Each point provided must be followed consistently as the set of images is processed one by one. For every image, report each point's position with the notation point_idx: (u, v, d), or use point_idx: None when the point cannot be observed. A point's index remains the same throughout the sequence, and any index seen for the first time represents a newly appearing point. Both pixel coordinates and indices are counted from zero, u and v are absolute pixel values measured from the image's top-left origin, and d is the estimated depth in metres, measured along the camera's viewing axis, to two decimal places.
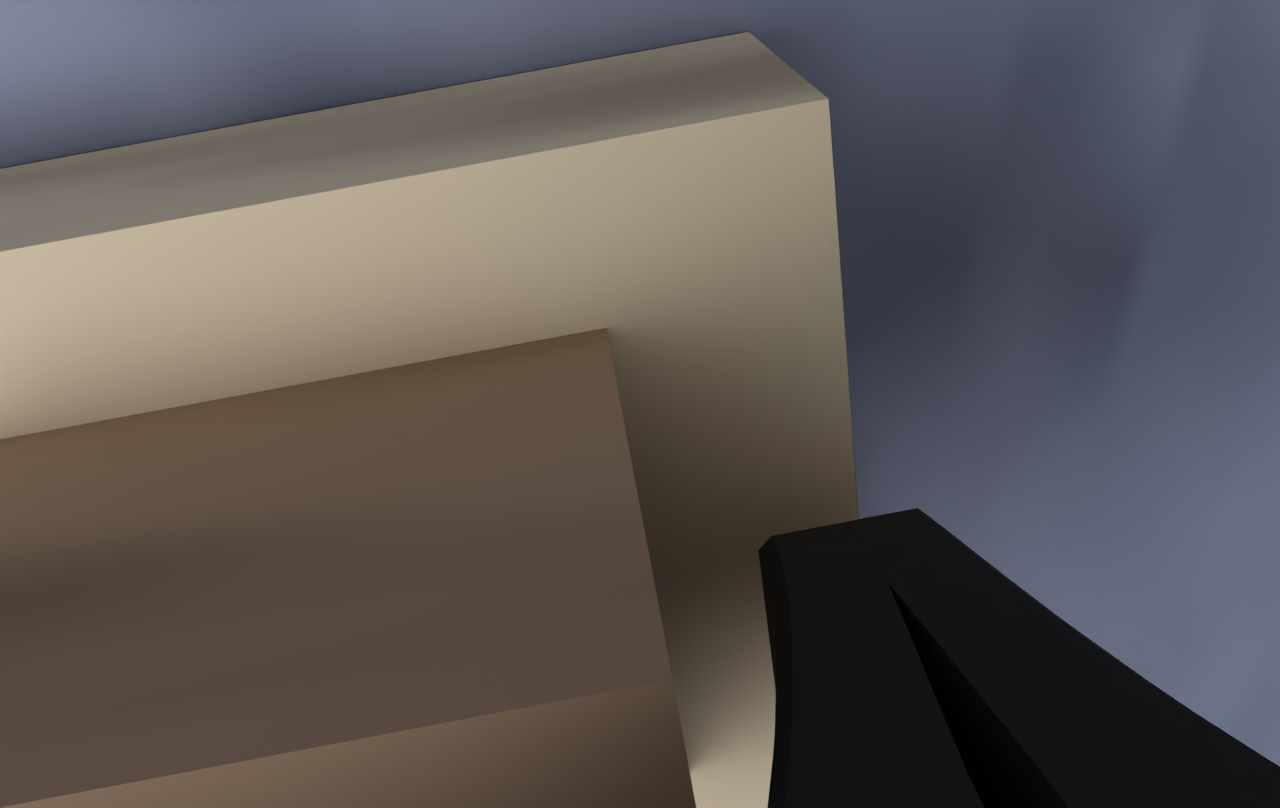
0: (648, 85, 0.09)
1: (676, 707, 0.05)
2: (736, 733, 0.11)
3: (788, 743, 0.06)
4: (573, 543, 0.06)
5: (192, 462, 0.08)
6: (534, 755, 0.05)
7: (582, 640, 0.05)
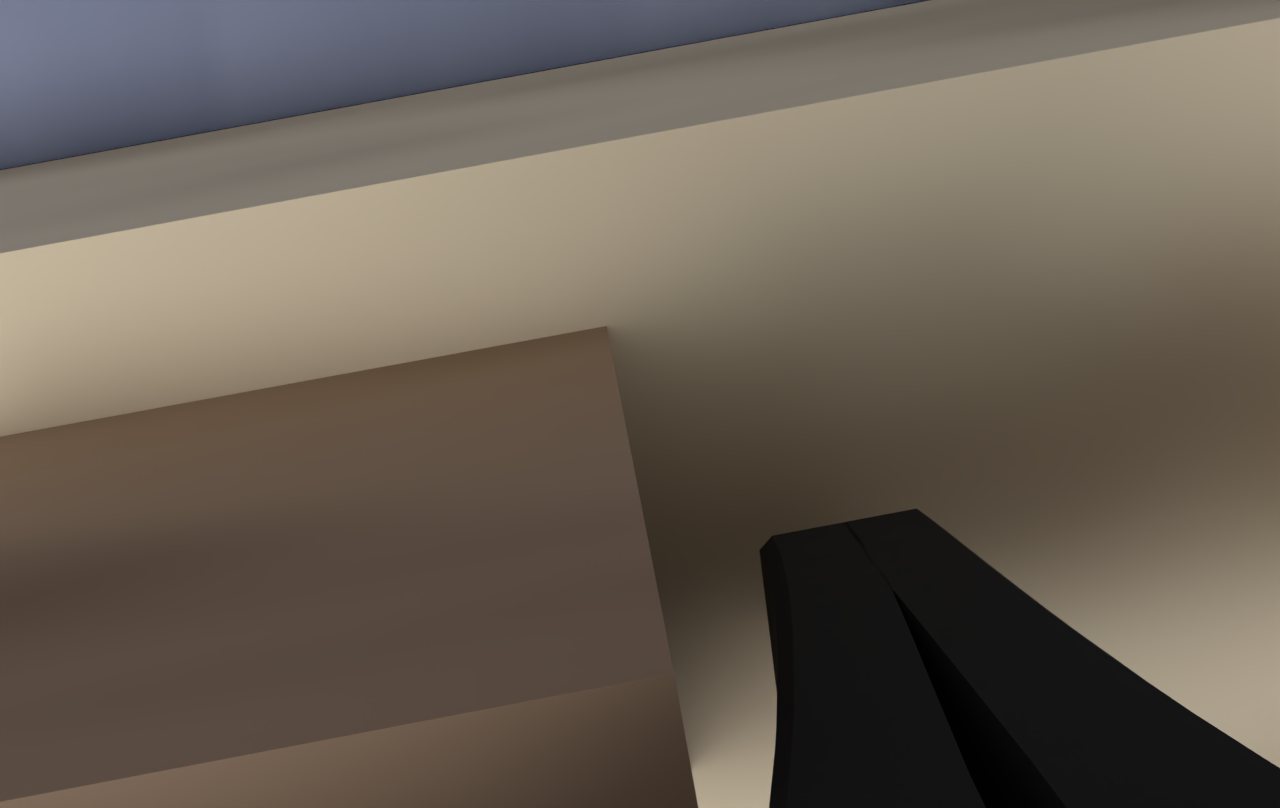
0: None
1: (677, 700, 0.05)
2: None
3: (790, 742, 0.06)
4: (573, 539, 0.06)
5: (191, 460, 0.08)
6: (534, 747, 0.05)
7: (583, 635, 0.05)
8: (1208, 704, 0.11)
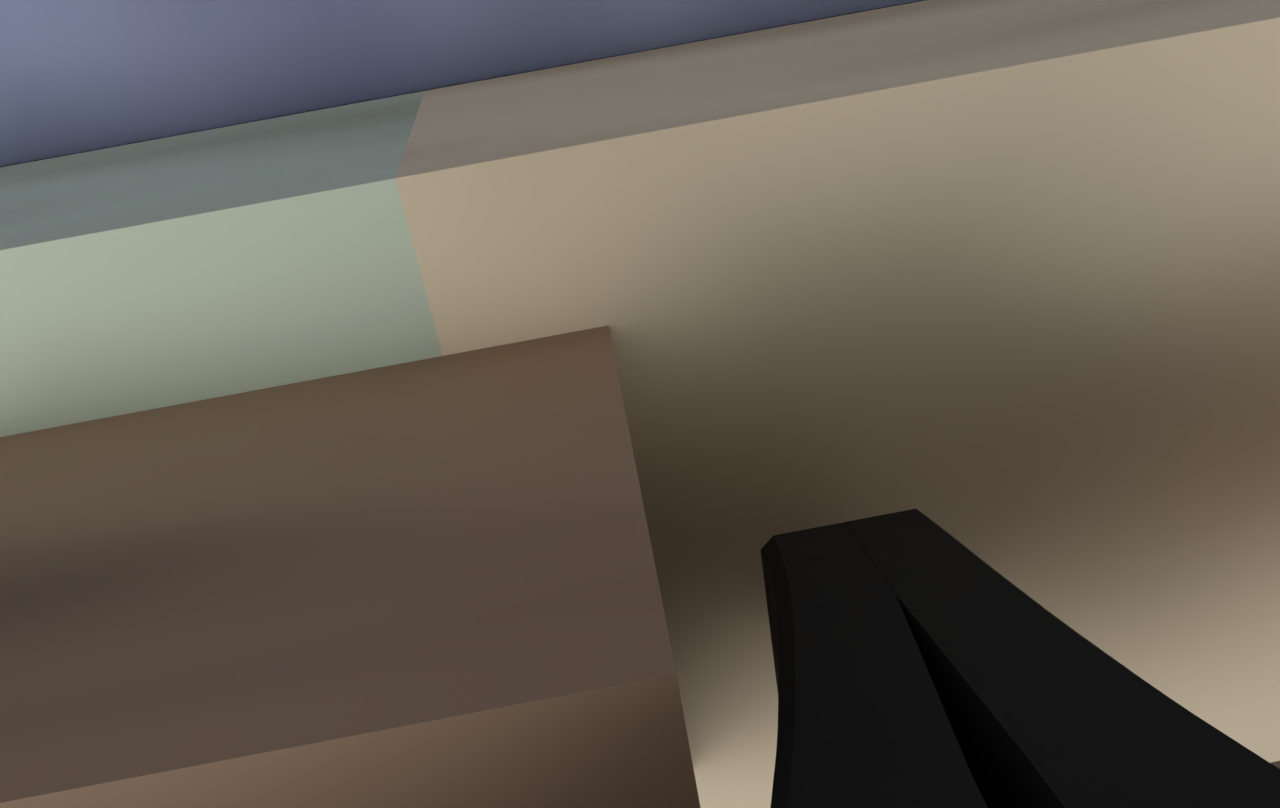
0: None
1: (679, 702, 0.05)
2: None
3: (791, 742, 0.06)
4: (577, 540, 0.06)
5: (195, 459, 0.08)
6: (536, 749, 0.05)
7: (587, 637, 0.05)
8: None
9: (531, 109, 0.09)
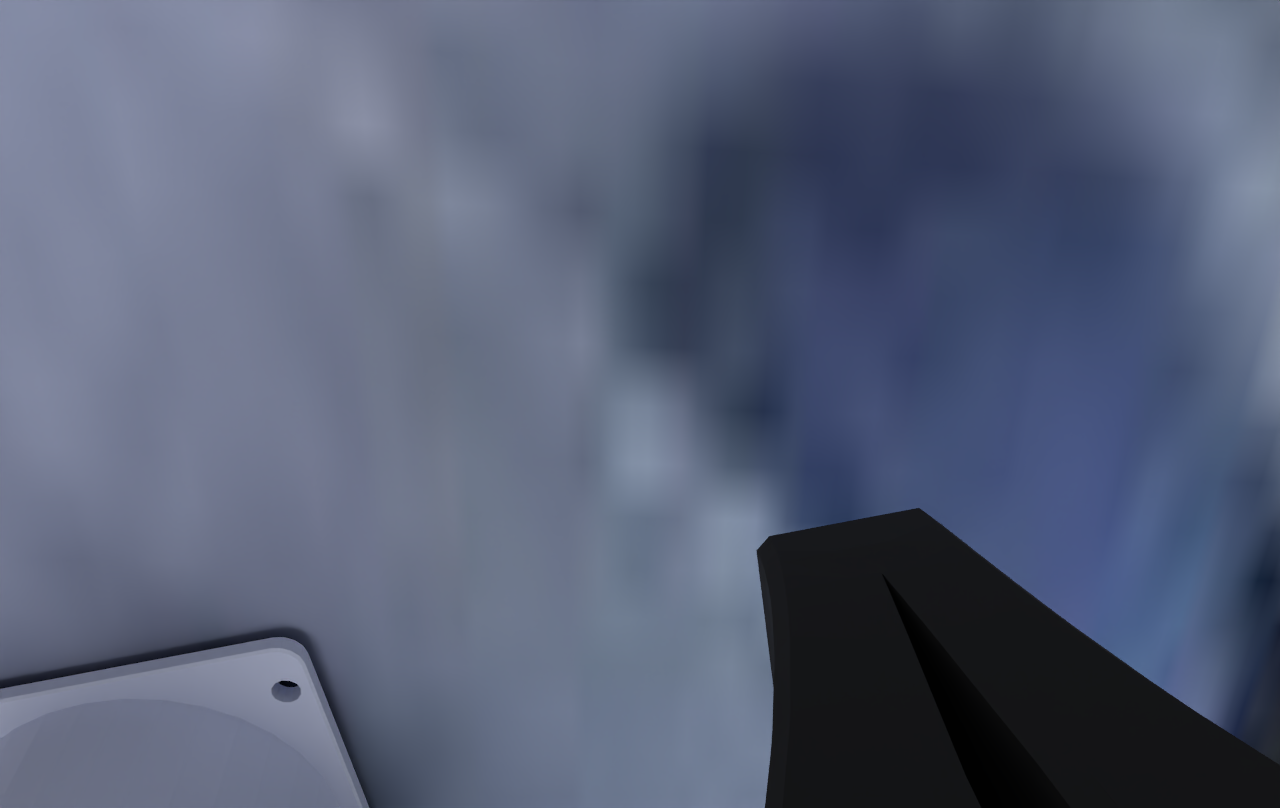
0: None
1: None
2: None
3: (786, 743, 0.06)
4: None
5: None
6: None
7: None
8: None
9: None
